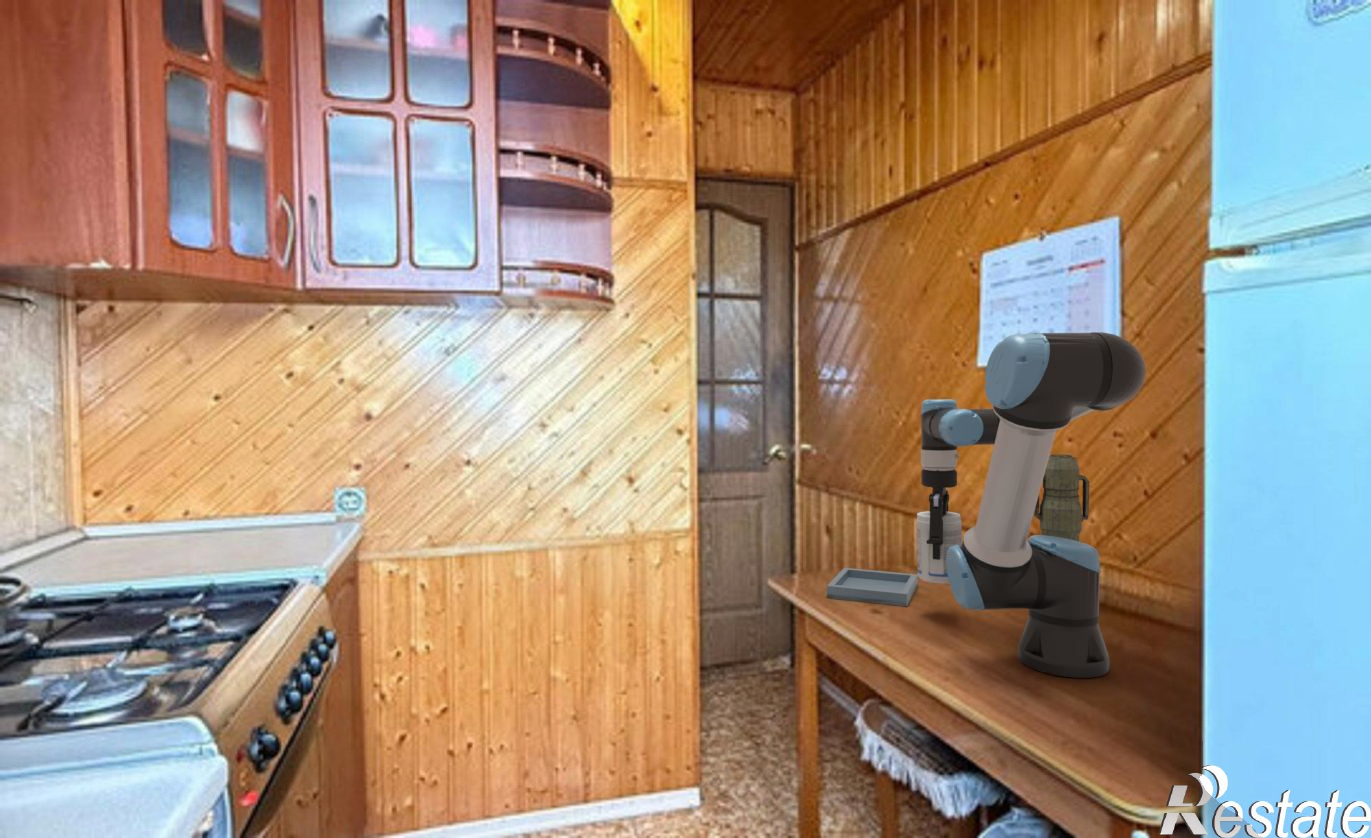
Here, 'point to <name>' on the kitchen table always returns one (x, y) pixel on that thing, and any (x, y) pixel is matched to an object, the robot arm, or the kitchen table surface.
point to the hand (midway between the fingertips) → (939, 568)
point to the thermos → (1062, 499)
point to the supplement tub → (950, 537)
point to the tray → (873, 586)
